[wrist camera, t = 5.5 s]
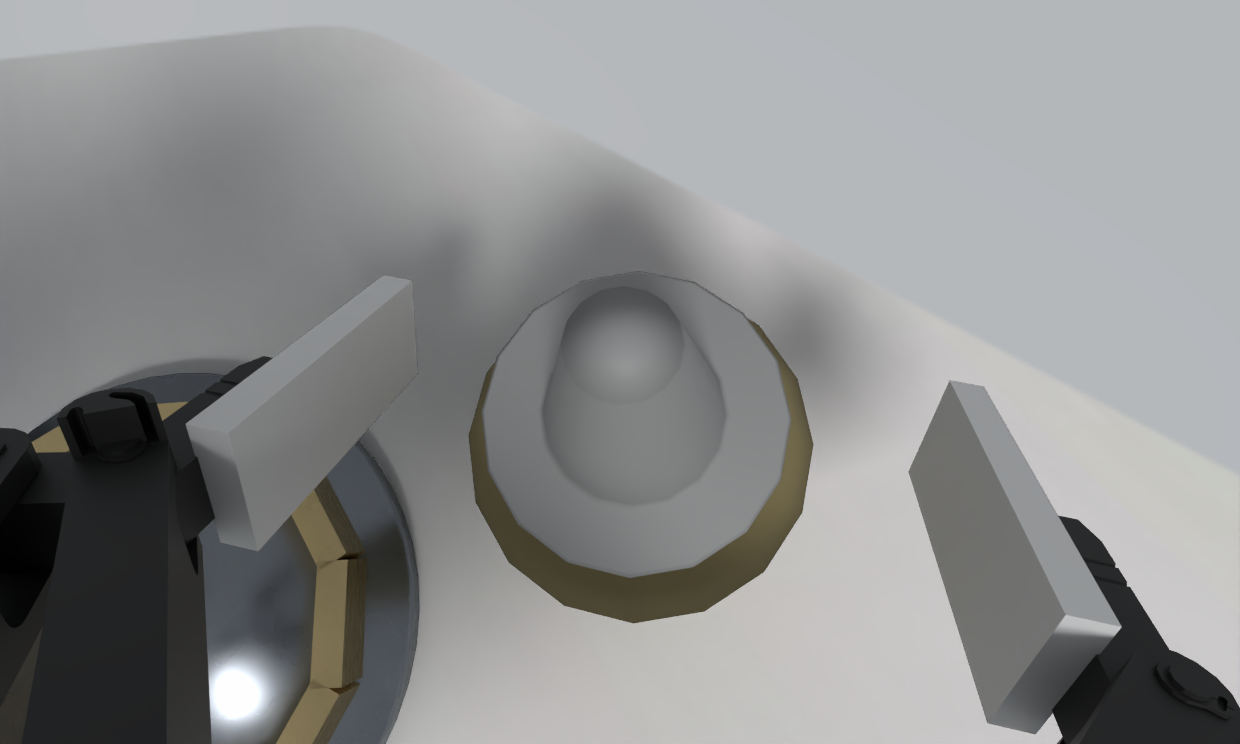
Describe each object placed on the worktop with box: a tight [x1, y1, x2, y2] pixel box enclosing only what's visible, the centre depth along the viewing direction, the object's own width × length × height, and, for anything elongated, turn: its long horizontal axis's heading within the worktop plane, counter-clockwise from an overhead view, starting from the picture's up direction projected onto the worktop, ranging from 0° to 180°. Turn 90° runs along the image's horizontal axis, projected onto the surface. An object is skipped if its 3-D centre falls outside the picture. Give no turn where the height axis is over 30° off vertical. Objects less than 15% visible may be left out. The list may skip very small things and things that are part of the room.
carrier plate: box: [0, 373, 419, 744], centre depth 22 cm, size 18×18×2 cm
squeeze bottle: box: [469, 271, 813, 623], centre depth 15 cm, size 8×8×18 cm
